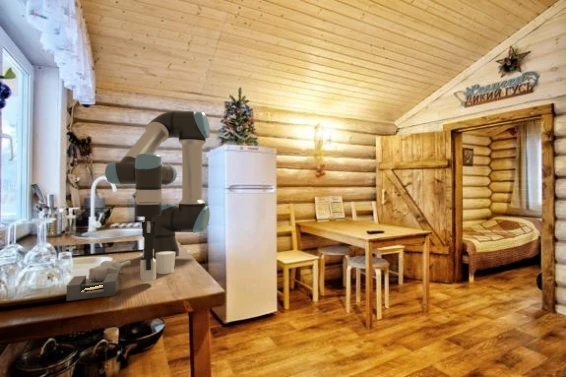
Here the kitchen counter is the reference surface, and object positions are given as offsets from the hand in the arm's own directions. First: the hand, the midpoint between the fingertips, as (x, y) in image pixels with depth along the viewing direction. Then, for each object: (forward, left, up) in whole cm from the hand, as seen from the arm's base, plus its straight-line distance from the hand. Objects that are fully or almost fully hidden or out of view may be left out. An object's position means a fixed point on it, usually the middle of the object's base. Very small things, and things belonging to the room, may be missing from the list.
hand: (148, 277), depth 96 cm
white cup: (-14, +6, -2) cm, 15 cm away
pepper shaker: (0, 0, -1) cm, 1 cm away
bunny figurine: (-15, -12, -2) cm, 19 cm away
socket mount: (+2, -14, -2) cm, 15 cm away
